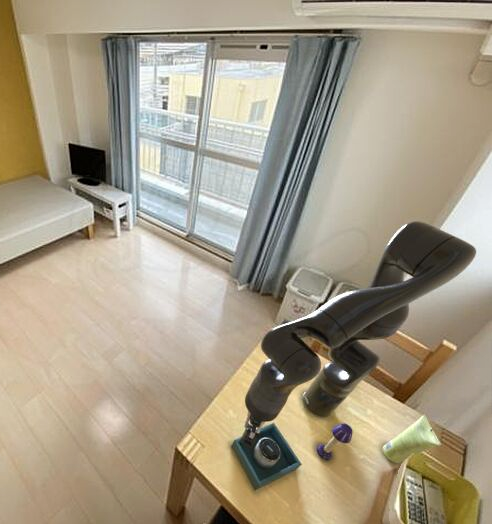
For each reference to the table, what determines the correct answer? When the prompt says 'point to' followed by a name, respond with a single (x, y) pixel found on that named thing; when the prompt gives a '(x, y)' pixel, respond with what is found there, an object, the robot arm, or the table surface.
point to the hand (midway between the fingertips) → (249, 425)
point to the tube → (411, 441)
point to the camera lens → (266, 453)
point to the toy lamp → (335, 440)
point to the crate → (268, 475)
